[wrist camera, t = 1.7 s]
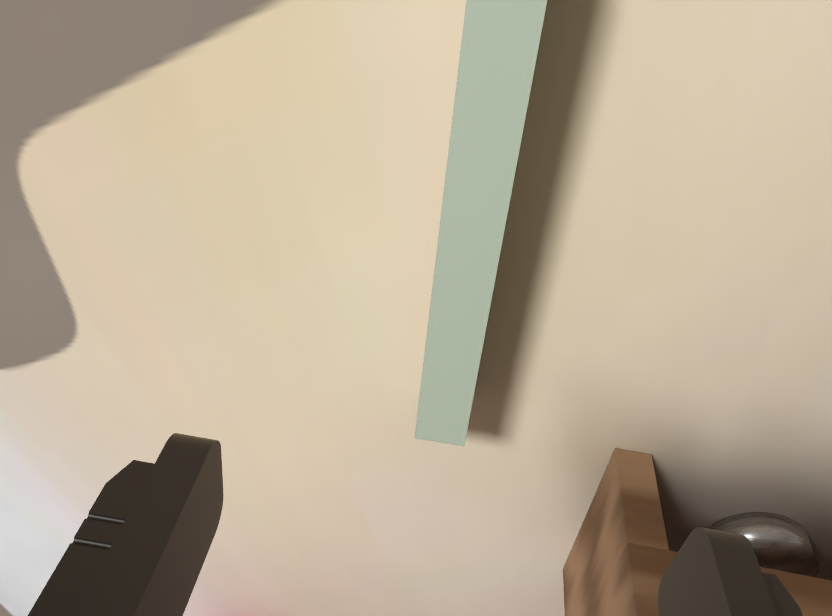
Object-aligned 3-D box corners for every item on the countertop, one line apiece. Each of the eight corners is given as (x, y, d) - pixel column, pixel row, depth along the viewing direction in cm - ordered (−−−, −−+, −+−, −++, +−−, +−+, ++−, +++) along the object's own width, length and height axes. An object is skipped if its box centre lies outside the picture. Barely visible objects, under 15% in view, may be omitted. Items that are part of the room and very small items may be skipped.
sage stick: (485, -108, 23) (477, -95, 20) (559, -100, 23) (563, -86, 20) (424, 383, 37) (414, 438, 34) (470, 391, 37) (464, 446, 33)
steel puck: (720, 501, 39) (728, 530, 37) (825, 520, 39) (838, 550, 37) (684, 559, 42) (690, 588, 41) (781, 577, 42) (790, 607, 41)
